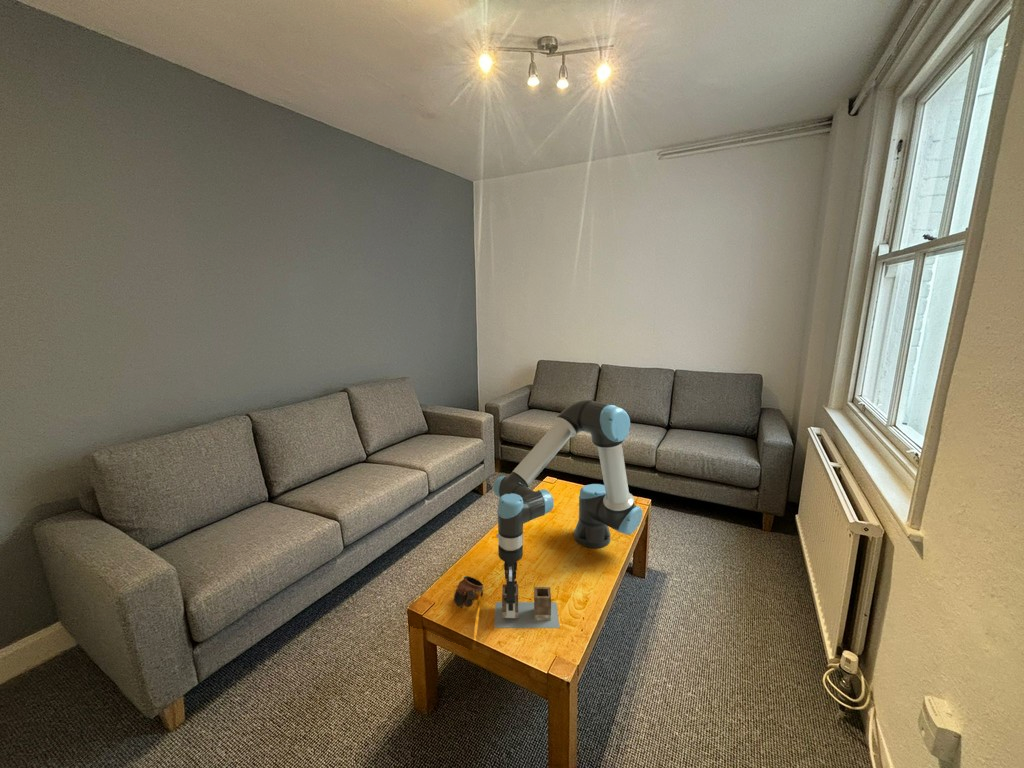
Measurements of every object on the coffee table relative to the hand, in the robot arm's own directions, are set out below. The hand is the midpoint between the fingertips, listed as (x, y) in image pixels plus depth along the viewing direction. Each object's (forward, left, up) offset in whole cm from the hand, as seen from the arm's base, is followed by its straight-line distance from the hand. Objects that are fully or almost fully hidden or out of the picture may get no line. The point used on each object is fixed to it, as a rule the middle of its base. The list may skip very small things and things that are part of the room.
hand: (510, 610), depth 132 cm
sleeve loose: (0, 0, -1) cm, 1 cm away
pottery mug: (+14, -7, -3) cm, 16 cm away
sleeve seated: (-10, 0, -2) cm, 10 cm away
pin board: (-5, 0, -3) cm, 6 cm away
